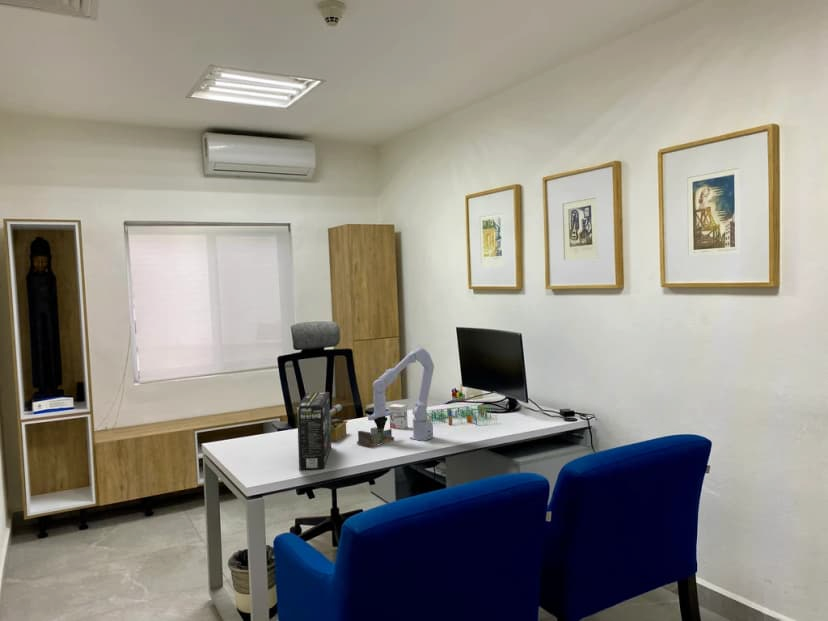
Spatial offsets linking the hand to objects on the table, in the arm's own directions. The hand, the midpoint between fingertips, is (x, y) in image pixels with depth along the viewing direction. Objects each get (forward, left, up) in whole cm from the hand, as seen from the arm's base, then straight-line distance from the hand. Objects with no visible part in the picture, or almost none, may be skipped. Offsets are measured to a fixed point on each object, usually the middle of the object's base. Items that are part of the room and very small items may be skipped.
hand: (380, 432), depth 297 cm
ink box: (+11, -24, -4) cm, 27 cm away
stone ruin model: (0, +4, -4) cm, 5 cm away
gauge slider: (-1, +3, -1) cm, 3 cm away
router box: (+3, +38, -4) cm, 38 cm away
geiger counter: (+22, +12, -4) cm, 26 cm away
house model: (-7, -55, -5) cm, 55 cm away
